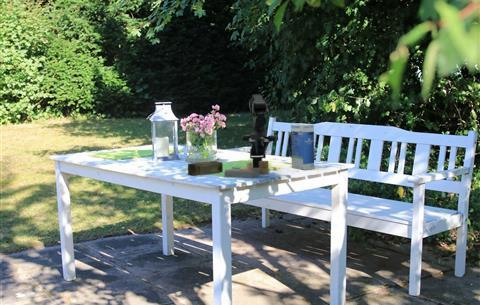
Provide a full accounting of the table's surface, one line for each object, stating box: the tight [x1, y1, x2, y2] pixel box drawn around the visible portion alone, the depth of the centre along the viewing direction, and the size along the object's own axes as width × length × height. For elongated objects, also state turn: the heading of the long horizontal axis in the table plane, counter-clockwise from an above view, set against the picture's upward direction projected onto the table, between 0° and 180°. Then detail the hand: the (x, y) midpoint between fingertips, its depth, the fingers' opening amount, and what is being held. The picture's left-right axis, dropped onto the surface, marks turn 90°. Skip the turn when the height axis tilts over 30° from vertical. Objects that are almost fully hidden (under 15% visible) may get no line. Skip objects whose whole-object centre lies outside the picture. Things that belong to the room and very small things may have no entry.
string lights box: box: [290, 122, 315, 171], centre depth 331 cm, size 13×8×26 cm, turn 30°
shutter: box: [239, 161, 253, 170], centre depth 309 cm, size 6×6×4 cm
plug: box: [259, 160, 269, 175], centre depth 315 cm, size 4×4×7 cm
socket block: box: [223, 166, 261, 179], centre depth 310 cm, size 12×16×4 cm
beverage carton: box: [187, 160, 224, 177], centre depth 320 cm, size 8×19×7 cm, turn 126°
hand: (260, 154), depth 305 cm, fingers open, 4 cm apart
